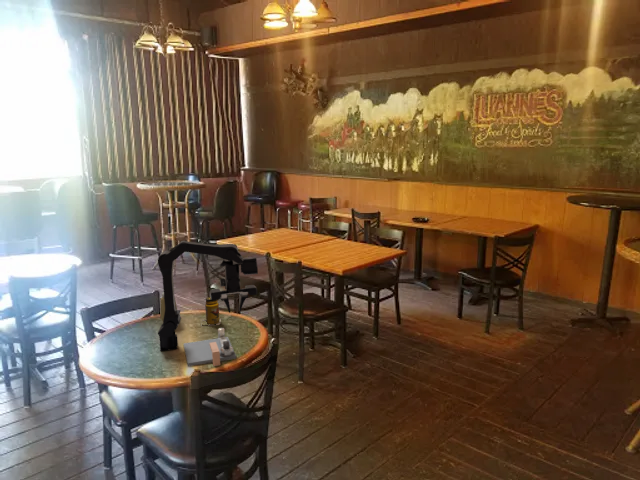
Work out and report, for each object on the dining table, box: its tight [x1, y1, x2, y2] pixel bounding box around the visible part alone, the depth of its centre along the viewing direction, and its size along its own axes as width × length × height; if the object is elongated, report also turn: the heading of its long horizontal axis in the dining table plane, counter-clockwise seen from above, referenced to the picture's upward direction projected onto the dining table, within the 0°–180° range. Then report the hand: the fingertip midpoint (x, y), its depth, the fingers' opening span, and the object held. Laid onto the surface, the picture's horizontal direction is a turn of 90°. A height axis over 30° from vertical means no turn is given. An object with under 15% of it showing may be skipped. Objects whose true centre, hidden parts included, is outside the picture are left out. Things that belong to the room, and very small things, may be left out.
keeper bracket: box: [209, 342, 221, 367], centre depth 190 cm, size 2×10×6 cm, turn 19°
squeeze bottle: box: [159, 291, 178, 322], centre depth 230 cm, size 8×8×18 cm
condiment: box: [200, 296, 222, 327], centre depth 229 cm, size 7×8×12 cm
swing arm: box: [217, 327, 234, 356], centre depth 198 cm, size 17×5×5 cm, turn 19°
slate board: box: [183, 336, 237, 367], centre depth 198 cm, size 18×20×1 cm
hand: (234, 312), depth 205 cm, fingers open, 4 cm apart
